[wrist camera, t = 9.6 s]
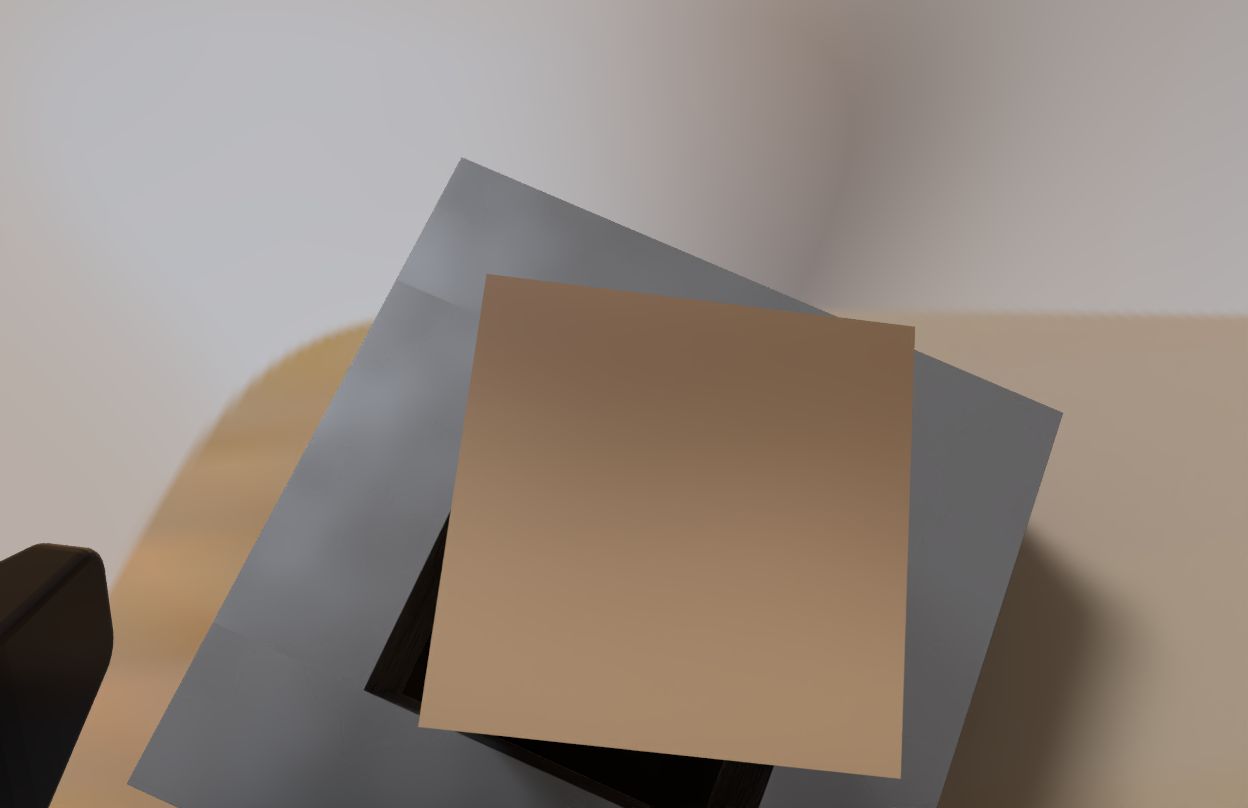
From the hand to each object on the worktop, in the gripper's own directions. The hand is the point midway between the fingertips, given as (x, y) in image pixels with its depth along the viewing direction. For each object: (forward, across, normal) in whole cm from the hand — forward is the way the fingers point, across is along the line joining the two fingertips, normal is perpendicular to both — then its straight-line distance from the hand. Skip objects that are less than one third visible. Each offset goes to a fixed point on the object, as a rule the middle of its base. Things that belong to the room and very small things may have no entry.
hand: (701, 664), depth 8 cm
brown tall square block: (+9, 0, +7) cm, 11 cm away
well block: (+9, 0, +7) cm, 11 cm away
